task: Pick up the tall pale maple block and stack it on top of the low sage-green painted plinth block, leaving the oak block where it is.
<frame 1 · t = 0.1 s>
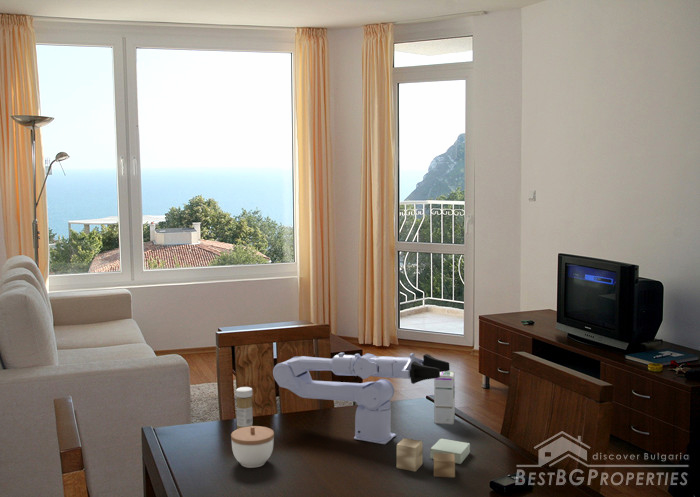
hand: (444, 369, 181), 22 cm above the table, tool horizontal, fingers open, 7 cm apart
sprinkles bottle: (244, 436, 193), on the table
oak block: (444, 473, 168), on the table
plinth block: (450, 457, 179), on the table
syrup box: (444, 421, 205), on the table
lidded jar: (252, 463, 174), on the table
maple block: (409, 466, 172), on the table
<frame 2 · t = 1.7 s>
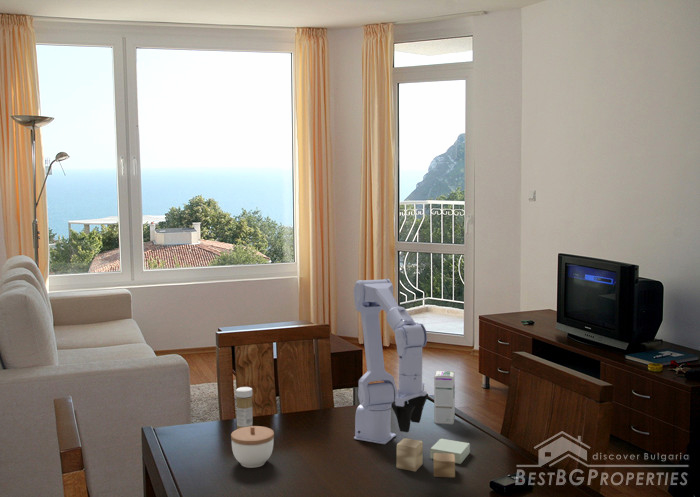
hand: (410, 426, 171), 10 cm above the table, tool pointing down, fingers open, 7 cm apart
nothing on the table moved.
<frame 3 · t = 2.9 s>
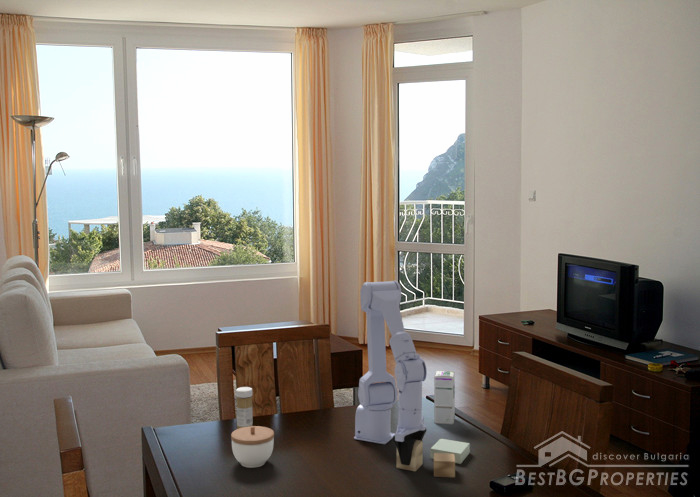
hand: (409, 460, 172), 1 cm above the table, tool pointing down, fingers closed on maple block, 5 cm apart
maple block: (409, 465, 172), on the table, touching gripper
everything else where it was.
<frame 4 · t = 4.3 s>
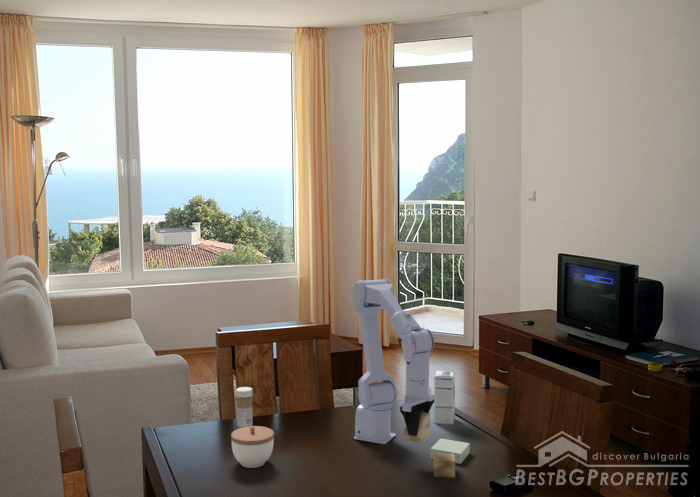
hand: (416, 431, 172), 8 cm above the table, tool pointing down, fingers closed on maple block, 5 cm apart
maple block: (416, 438, 172), point 7 cm above the table, touching gripper
everything else where it was.
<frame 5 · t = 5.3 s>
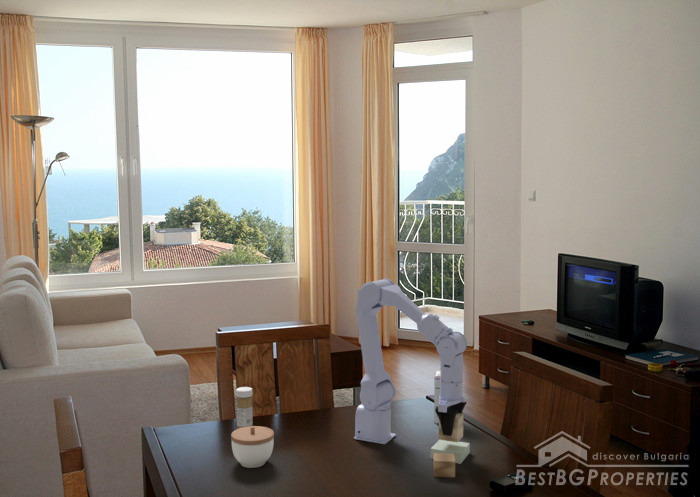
hand: (450, 431, 178), 6 cm above the table, tool pointing down, fingers closed on maple block, 5 cm apart
maple block: (450, 437, 178), point 5 cm above the table, touching gripper
everything else where it was.
when the fingers open (6 cm above the table, at t = 5.9 s): maple block drops 1 cm, resting on plinth block.
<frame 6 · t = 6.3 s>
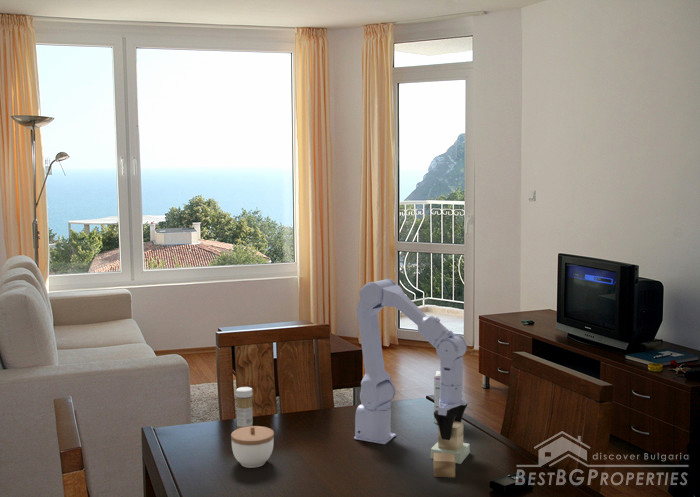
hand: (450, 434, 178), 6 cm above the table, tool pointing down, fingers open, 7 cm apart
plinth block: (450, 457, 179), on the table, touching maple block
maple block: (450, 446, 178), point 2 cm above the table, touching plinth block
everything else where it was.
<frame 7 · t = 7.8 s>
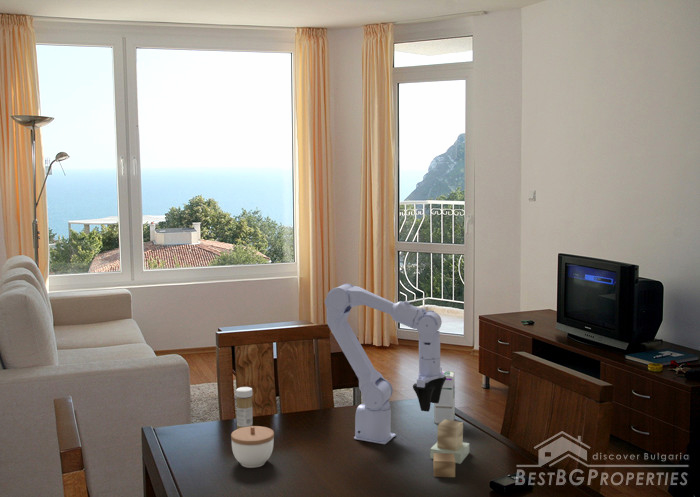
hand: (430, 406, 186), 10 cm above the table, tool pointing down, fingers open, 7 cm apart
plinth block: (449, 457, 179), on the table
maple block: (449, 446, 178), point 3 cm above the table
everything else where it was.
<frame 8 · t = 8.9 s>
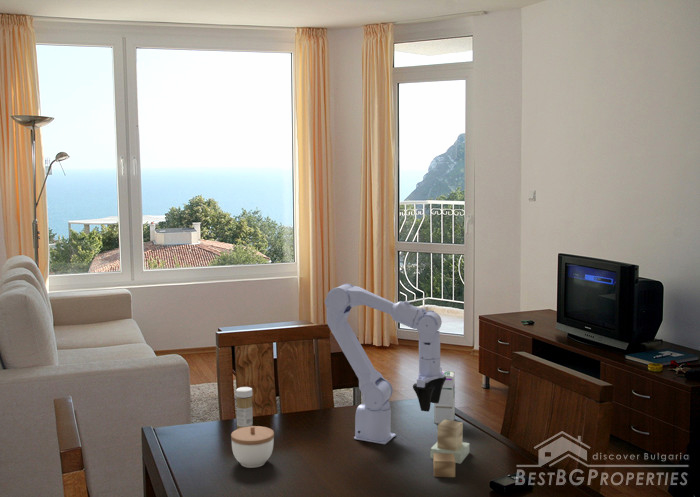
hand: (430, 406, 186), 10 cm above the table, tool pointing down, fingers open, 7 cm apart
plinth block: (450, 457, 179), on the table, touching maple block
maple block: (449, 446, 178), point 3 cm above the table, touching plinth block
everything else where it was.
at the end: maple block 0.4 cm off-centre on the plinth block, point 3.0 cm above the plinth block's base; maple block tilted 0°; the gripper is holding nothing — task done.
